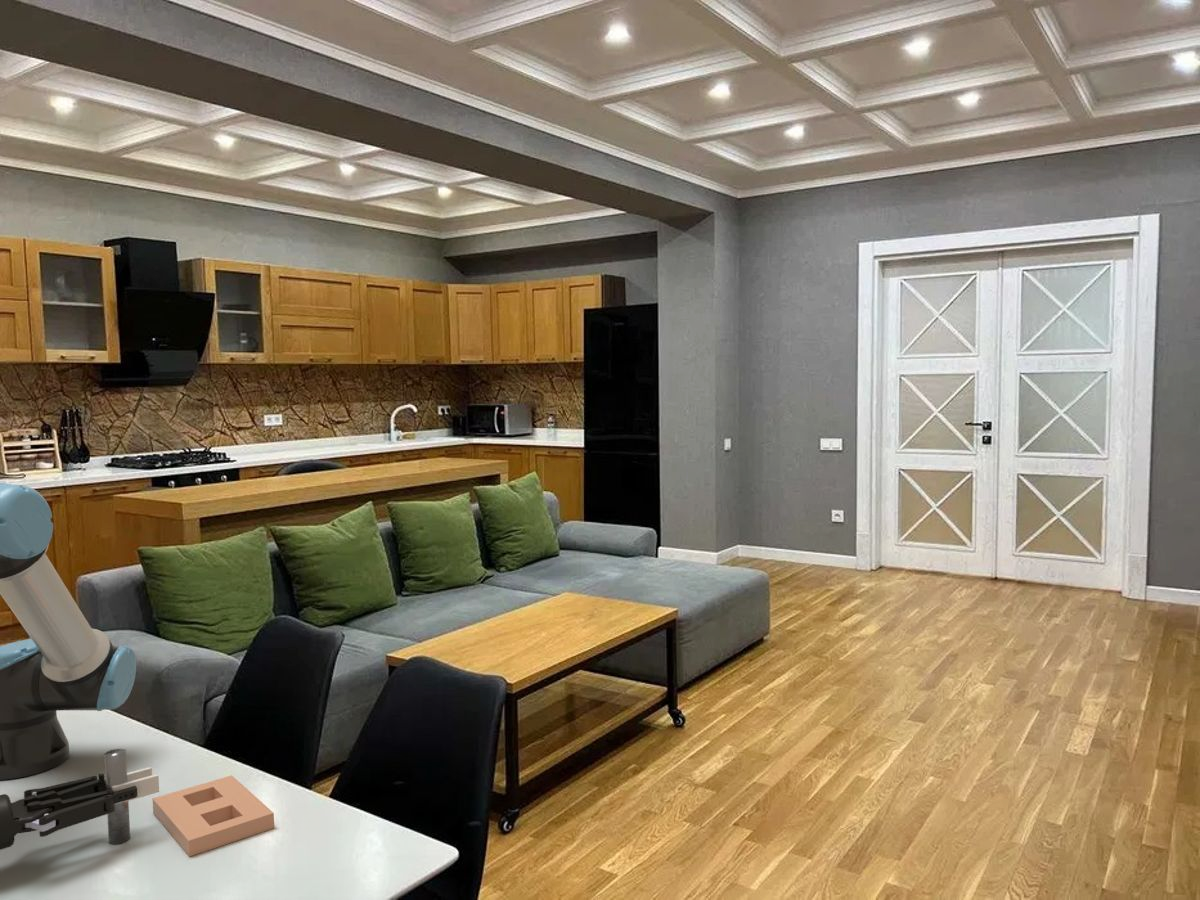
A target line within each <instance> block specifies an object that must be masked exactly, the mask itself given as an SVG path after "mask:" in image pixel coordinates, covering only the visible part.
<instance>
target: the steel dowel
mask: <svg viewBox="0 0 1200 900" xmlns="http://www.w3.org/2000/svg"><path fill="white" fill-rule="evenodd" d="M103 757H104V763H103V764H104V775H105V781H106V791H107V790H112V786H115V785H119V784H122V783H126V782H127V773H128V769H127V767H128V765H127V751H126V749H125V748H115V749H111V750H108V751H106V752H104V754H103ZM129 805H130V804H129V801H126V802H123V803H119V804H116V805H114V808H115V811H114V812H112V813H109V814H106V815H107V831H108V832H107V833H108V834H107V835H108V843H109V844H111V845H117V844H123V843H125V842H127V841H129V840H130V839H131V826H130V825H131V822H130V806H129Z"/></svg>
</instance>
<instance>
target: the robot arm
mask: <svg viewBox="0 0 1200 900" xmlns="http://www.w3.org/2000/svg"><path fill="white" fill-rule="evenodd" d="M52 513H53V512H52V511H51V508H50V505H49V504H48V502H47V500H46V499H45V497H44V496H43V495H42V494H41V493H40V492H38V491H37V490H36V489H34V488H33V487H30V486H27V485H22V484H11V483H6V482H0V597H2V599H3V600H4V601H5V603H6V604H7V606H8V607H9V608H10V610H11V612H12V613H13V615H14V616H15V617H16V619H17V620H18V622H19V623H20V624H21V626H22V627H23V629H24V630H25V632H26V633H27V635H28V636H29V638H28V639H23V640H18V641H15V642H10V643H8V644H7V643H5V644H3V645H1V646H0V780H1V781H3V780H12V779H14V780H15V779H19V778H24V777H29V776H33V775H37V774H40V773H43V772H46V771H48V770H51V769H53V768H55V767H57V766H59V765H61V764H62V763H64V762H65V761H66V760H68V759H69V757H70V744H69V740H68V738H67V736H66V734H65V732H64V730H63V727H62V726H61V722H60V720H58V715H57V711H97V712H102V711H106V710H115V709H117V708H120V707H121V706H122V705H123V704H125V702H126V700H128V698H129V696H130V694H131V692H132V689H133V687H134V684H135V679H136V673H137V659H136V654H135V651H134V649H133V648H131V647H129V646H125V645H124V644H123V645H122V644H121V645H119V646H116V645H113V643H112V641H111V640H110V639H109V636H108V635H107V634H106V633H105V632H103V631H102V630H99V629H96V628H92V627H91V625H90V623H89V622H88V621H87V619H86V617H85V616H84V614H83V613H82V611H81V609H80V608H79V606H78V604H77V603H76V601H75V599H74V598H73V596H72V594H71V593H70V591H69V589H68V588H67V587H66V585H65V583H64V582H63V580H62V577H60V574H59V573H58V572H57V570H56V568H55V567H54V565H53V563H52V562H51V561H50V559H49V557H48V555H47V551H48V549H49V546H50V545H49V544H50V543H51V540H52V537H53V533H54V523H53V522H52V520H51V519H52V518H53V514H52ZM152 768H153V767H151V766H148V767H144V768H140V769H138V770H134V771H129V772H127V782H126V783H122V784H119V785H115V786H112V790H107V791H106V781H105V773H99V774H98V775H97V776H96V775H92V776H88V777H84V778H83V777H82V778H80V779H75V780H72V781H67V782H62V783H59V784H53V785H49V786H45V787H40V788H32V789H26V790H24V791H23V798H21V799H17V800H15V801H13V802H12V801H11V799H10V796H9V795H8V794H6V793H5V794H4V793H3V794H0V851H2V850H5V849H8V848H11V847H12V846H13V845H14V844H15V837H16V835H18V834H24V833H31V832H36V831H39V837H47V836H49V835H51V834H53V833H55V832H58V831H59V830H63V829H66V828H69V827H72V826H75V825H78V824H81V823H85V822H88V821H90V820H93V819H96V818H100V817H103V816H106V815H107V814H109V813H112V812H114V811H115V808H114V805H116V804H119V803H123V802H126V801H132V800H136V799H140V798H143V797H146V796H150V795H153V794H154V795H155V794H157V793H160V783H159V782H160V781H159V780H160V779H159V774H157V773H156V774H153V769H152Z"/></svg>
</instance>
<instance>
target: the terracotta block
mask: <svg viewBox="0 0 1200 900" xmlns="http://www.w3.org/2000/svg"><path fill="white" fill-rule="evenodd" d="M152 813H153V814H154V816H155V817H156V818H157V820H159V822H160V823H161V824H162V826H163V827H164V828H165V829H166V830H167V831H168V833H169V834H170V835H171V836H172V838H173V839H174V840H175V841H176V842H177V843H178V845H179V846H180V848H182V850H183V851H184V852H185V853H186V854H187V857H189V858H191V857H193V856H196V855H198V854H202V853H205V852H208V851H210V850H214V849H217V848H219V847H222V846H226V845H228V844H231V843H234V842H237V841H239V840H243V839H246V838H249V837H252V836H255V835H258V834H260V833H263V832H267V831H269V830H272V829H275V812H274V811H272V810H271V809H270V808H269V807H268V806H267V805H265V803H264V802H262V801H261V800H260V799H259V798H258V797H257V796H256V795H254V793H252V792H251V791H250V789H248V788H247V787H245V786H244V785H243V783H241V781H239V780H238V779H237V778H236V777H235V776H233V775H232V774H231V775H229V776H225V777H222V778H218V779H215V780H211V781H207V782H204V783H200V784H197V785H194V786H193V785H192V786H191V787H187V788H184V789H180V790H176V791H173V792H170V793H166V794H163V795H159V796H156V797H153V798H152Z"/></svg>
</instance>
